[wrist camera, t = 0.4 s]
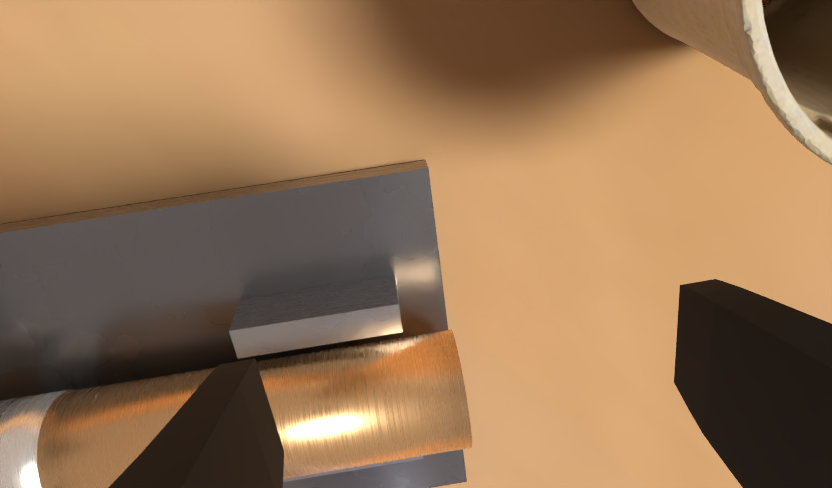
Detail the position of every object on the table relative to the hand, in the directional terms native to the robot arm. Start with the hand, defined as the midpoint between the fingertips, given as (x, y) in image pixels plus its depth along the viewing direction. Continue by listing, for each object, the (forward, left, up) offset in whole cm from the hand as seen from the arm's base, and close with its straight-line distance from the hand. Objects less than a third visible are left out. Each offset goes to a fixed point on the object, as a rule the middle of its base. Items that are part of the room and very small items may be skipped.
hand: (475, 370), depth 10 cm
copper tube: (-6, +8, -8) cm, 13 cm away
